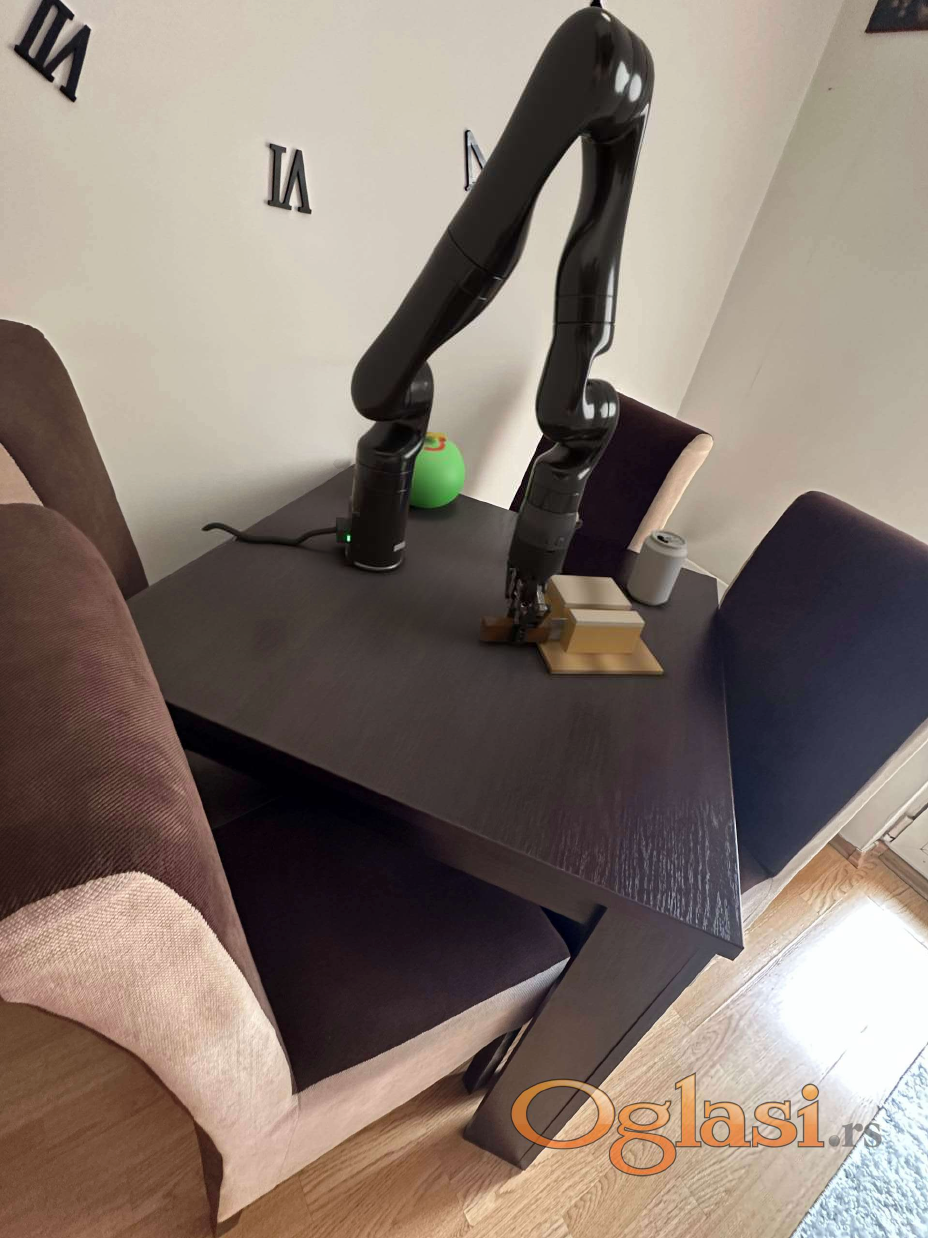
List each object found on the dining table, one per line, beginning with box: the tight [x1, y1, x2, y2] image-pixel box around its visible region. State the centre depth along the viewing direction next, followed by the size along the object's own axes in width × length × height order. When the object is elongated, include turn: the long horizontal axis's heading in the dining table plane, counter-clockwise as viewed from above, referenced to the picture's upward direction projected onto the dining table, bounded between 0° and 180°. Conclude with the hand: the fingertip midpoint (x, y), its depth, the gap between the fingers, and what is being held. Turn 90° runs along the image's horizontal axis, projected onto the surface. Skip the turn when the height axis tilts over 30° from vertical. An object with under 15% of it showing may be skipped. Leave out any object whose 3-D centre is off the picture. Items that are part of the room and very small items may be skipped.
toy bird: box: [409, 430, 466, 509], centre depth 128 cm, size 18×17×15 cm
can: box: [626, 528, 688, 606], centre depth 113 cm, size 8×8×12 cm
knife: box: [479, 616, 567, 643], centre depth 97 cm, size 23×2×4 cm, turn 103°
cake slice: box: [559, 609, 646, 654], centre depth 97 cm, size 11×3×6 cm, turn 103°
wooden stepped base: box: [523, 574, 664, 676], centre depth 100 cm, size 18×20×7 cm
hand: (513, 637), depth 96 cm, fingers closed on knife, 2 cm apart
